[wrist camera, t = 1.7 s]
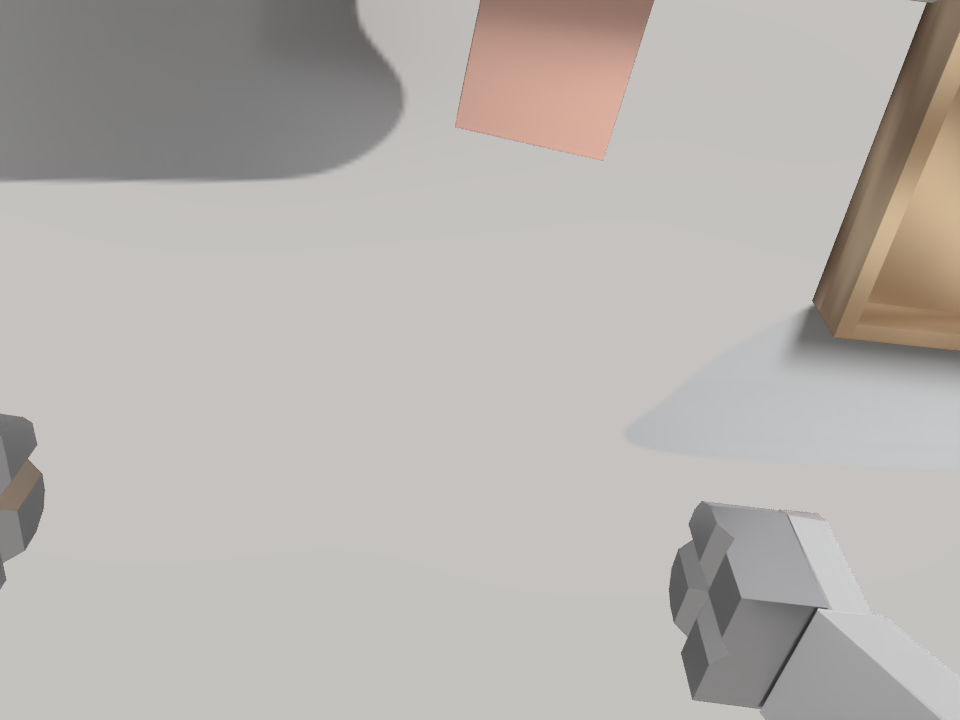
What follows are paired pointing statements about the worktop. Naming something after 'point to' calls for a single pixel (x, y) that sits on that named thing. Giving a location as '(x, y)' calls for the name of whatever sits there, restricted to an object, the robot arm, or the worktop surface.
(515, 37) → the pink rectangular block
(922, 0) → the dispenser
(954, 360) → the worktop surface
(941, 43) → the tray
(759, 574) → the robot arm
